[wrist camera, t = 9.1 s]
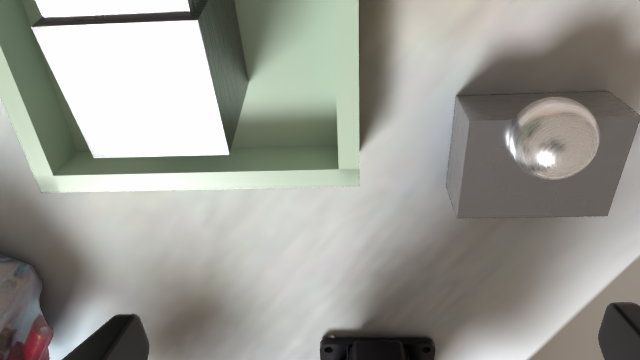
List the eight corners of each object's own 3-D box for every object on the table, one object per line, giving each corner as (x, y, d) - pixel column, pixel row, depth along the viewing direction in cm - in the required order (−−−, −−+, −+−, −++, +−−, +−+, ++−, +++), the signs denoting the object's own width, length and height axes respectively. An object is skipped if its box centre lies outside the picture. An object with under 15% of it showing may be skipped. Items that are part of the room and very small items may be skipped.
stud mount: (581, 184, 21) (628, 242, 18) (446, 186, 22) (466, 245, 18) (614, 71, 18) (677, 115, 15) (458, 76, 19) (484, 121, 15)
